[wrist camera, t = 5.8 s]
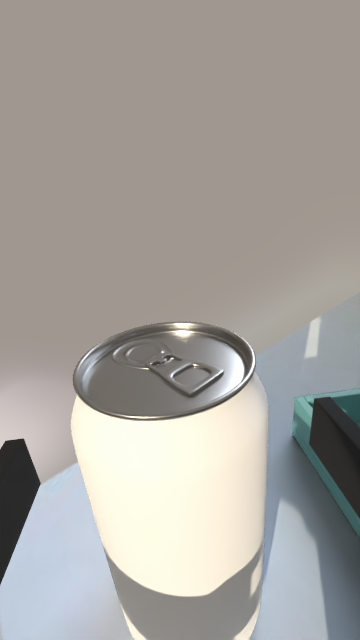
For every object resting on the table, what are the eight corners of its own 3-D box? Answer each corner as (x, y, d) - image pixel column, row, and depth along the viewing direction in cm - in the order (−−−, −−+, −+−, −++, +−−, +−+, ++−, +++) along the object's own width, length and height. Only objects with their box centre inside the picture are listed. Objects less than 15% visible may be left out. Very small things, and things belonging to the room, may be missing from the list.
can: (189, 487, 18) (170, 307, 13) (288, 572, 13) (311, 344, 9) (96, 580, 14) (24, 365, 9) (195, 747, 9) (148, 489, 5)
